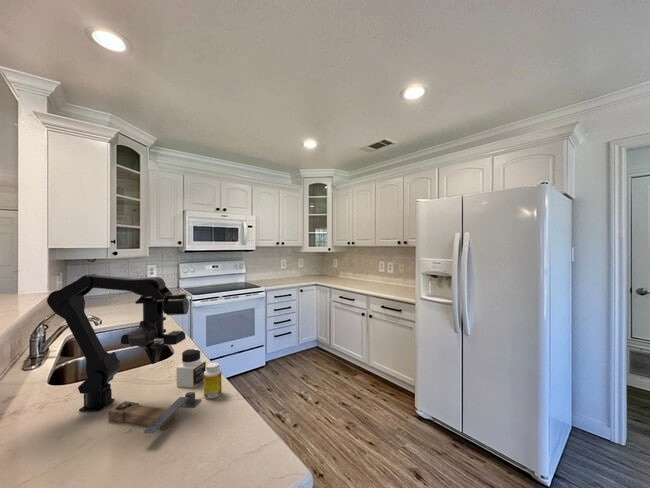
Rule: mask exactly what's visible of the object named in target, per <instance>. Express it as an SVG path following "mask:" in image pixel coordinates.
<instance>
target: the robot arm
mask: <svg viewBox="0 0 650 488" xmlns="http://www.w3.org/2000/svg"><path fill="white" fill-rule="evenodd" d="M93 289H103V290H113V291H123V292H124V291H125V292H130V293H133V294H135V295H138V296H140V297H139V298H138V299H137V300H136V301H135V302H134V303H135V304H137V305H138V304H142V320H140V321H139V326H138V328H136V329H135V330H132V331H128V332H127V333H123V334H122V335H121V337H120V345H130V347H138V348H142V349H143V350H144V351H145V353H146V355H147V357H148V359H149V361H150V364H152V365H155V364H156V363H157V361H158V360H159V356H160V354H161V353H162V351H163V348H164V346H166V345H167V346H169V345H170V346H174V345H178V344H179V343H181V342H182V341H184V340H186V332H184V330H172V331H171V332H168V333H166V332H167V329H166V328H164V321H166V320H167V317H166V316H179V315H181V316H182V315H187V314H188V312H189V310H190V308H189V307H190V306H189V305H190V302H189V300H188V297H187V293H180V294H173V293H172V291H171V290H169V288H168V287H167V286H166V282H165V280H164V279H163V278H162V277H158V276H155V277H154V276H153V277H150V276H149V277H141V278H131V277H122V276H121V277H120V276H111V275H109V276H108V275H101V274H100V275H99V274H95V273H92V274H85V275H82V276H81V277H79V278H78V279H76V280H75V281H73V282H71V283H69V284H68V285H66V286H64V287H62V288H61V289H57V290H53V291H52V292H51V293H50V294H49V295H48V297H47V298H46V303H47V305H48V306H49V307H50V308H49V309H51V310H52V311H53V313H54V314H55V315H57V316H59V317H60V318H62V319H64V321H65V322H66V324H67V326H68V328H69V330H70V332H71V333H72V336H73V337H74V340H75V341H76V343H77V346H78V347H79V349H80V351H81V353H82V355H83V356H84V358H85V369H84V371H85V375H86V379H84V380H83V382H82V383H81V384H79V386H78V387H77V390H78V391H79V394H83V406H82V407H81V408H79V409H78V411H79V412H95V413H96V412H99V411H101V410H102V409H105V407H107V406H109V405H111V403H113V402H114V401H115V400H116V399H115V398H112V395H113V393H112V389H111V388H112V387H111V383H110V382H111V381H113V379H114V376H116V375H117V374H118V373H119V370H120V368H121V365H120V363H121V361H120V360H119V359H118V357H117V354H116V352H115V351H113V352H111V353H109V352H108V351H106V350H105V349H104V347H103V345H102V343H101V341H100V339H99V338H98V335H97V333H96V332H95V330H94V328H93V325H92V323H91V322H90V319H89V318H88V316H87V315H86V312H85V309H86V308H85V307H86V306H85V305H86V299H85V298H84V296H86V295H87V294H89V293H90V292H91V291H92V290H93ZM165 314H166V316H164V315H165Z"/></svg>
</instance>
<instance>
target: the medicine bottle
mask: <svg viewBox="0 0 650 488" xmlns="http://www.w3.org/2000/svg"><path fill="white" fill-rule="evenodd" d="M181 356H182V357H181V360H182V361H181V362H182V363H180V364H179V365H178V366H176V386H177V387H180V388H191V389H194V388H196V387H197V386H199V384H200V383H203V382H204V372H205V371H206V366H207V364H206V363H207V362H206V360H205V359H201V350H200V349H199V348H196V347H195V348H188V349H185V350H184V351H182V353H181Z"/></svg>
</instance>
